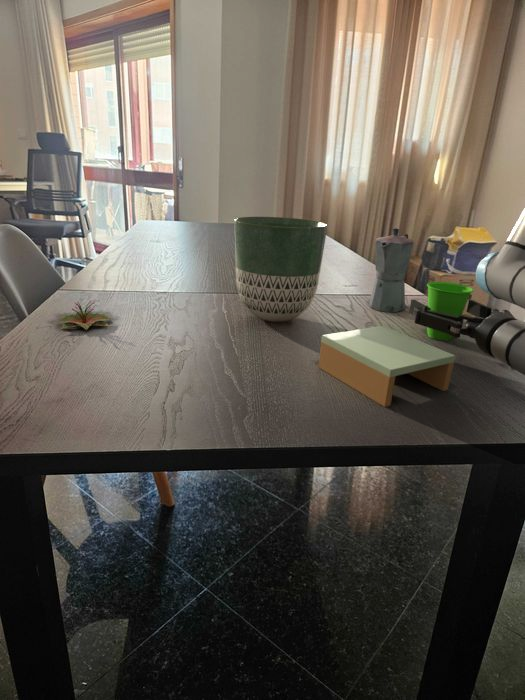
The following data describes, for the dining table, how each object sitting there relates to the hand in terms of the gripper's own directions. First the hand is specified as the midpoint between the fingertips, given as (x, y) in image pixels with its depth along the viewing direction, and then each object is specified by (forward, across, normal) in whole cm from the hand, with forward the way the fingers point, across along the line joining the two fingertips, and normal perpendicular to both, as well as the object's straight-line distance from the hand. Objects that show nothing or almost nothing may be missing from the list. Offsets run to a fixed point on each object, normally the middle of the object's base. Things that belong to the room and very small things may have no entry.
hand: (440, 305), depth 100 cm
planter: (+12, -33, -7) cm, 36 cm away
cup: (-1, 0, -7) cm, 7 cm away
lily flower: (+9, -74, -7) cm, 75 cm away
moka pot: (+21, -2, -7) cm, 22 cm away
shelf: (-21, -22, -6) cm, 32 cm away
